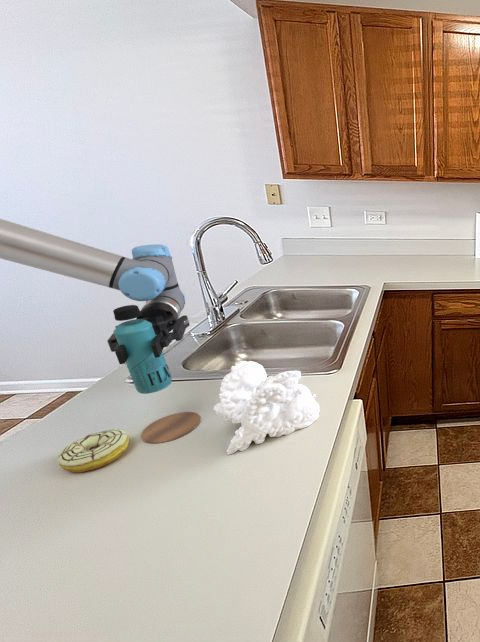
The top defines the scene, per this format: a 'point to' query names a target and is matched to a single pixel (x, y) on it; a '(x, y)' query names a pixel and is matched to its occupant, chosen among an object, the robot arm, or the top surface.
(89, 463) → the decorated donut
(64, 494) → the top surface
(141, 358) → the beverage bottle
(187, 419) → the cork coaster
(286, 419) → the white ornate sculpture
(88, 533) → the top surface
